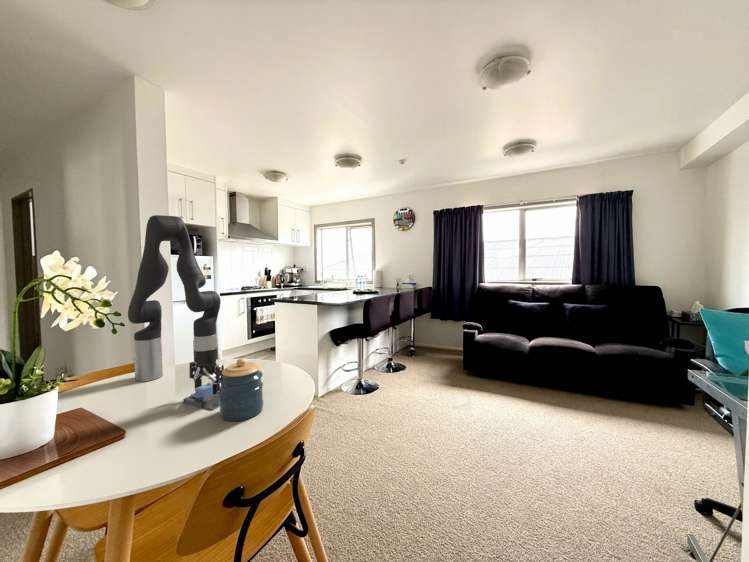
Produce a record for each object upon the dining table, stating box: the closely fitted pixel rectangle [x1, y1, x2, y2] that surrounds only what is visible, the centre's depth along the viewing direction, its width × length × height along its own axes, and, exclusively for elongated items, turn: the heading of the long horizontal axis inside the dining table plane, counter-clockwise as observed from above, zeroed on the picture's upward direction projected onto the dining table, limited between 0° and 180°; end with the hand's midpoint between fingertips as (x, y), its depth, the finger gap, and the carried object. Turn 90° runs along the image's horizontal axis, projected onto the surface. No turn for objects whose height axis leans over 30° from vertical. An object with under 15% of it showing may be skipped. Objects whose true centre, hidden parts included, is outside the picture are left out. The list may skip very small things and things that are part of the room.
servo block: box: [190, 380, 221, 401], centre depth 108 cm, size 4×10×6 cm, turn 159°
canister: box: [219, 358, 264, 422], centre depth 98 cm, size 13×13×18 cm
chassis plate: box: [183, 392, 221, 411], centre depth 107 cm, size 14×11×2 cm
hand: (207, 391), depth 108 cm, fingers open, 8 cm apart
